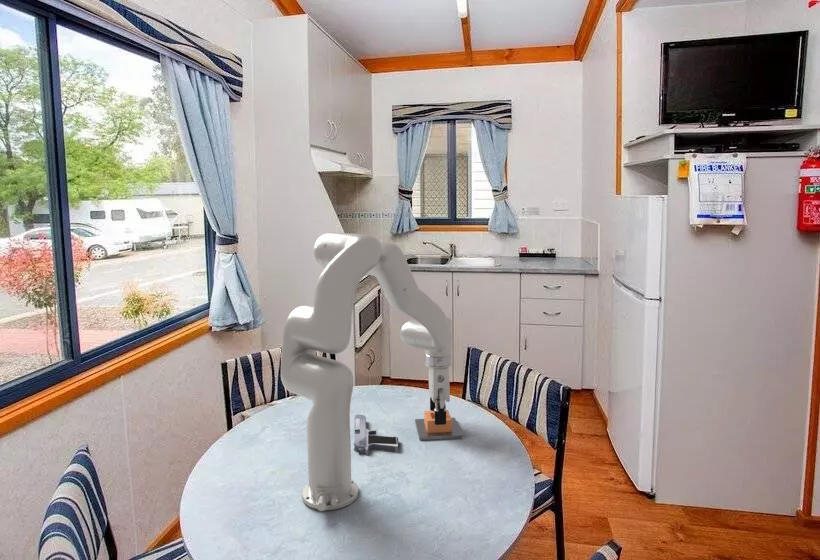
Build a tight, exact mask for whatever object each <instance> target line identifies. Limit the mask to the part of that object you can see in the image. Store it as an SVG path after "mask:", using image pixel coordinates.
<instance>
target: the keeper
mask: <svg viewBox="0 0 820 560" xmlns="http://www.w3.org/2000/svg"><path fill="white" fill-rule="evenodd" d="M435 411H436V408H435V409H434V419H435ZM451 419H452V432H436V433H427V430H426V426H425V423H424V418H416V419H414V423H415V429H416V432H417V435H418V436H419V437H418V436H417V437H418V439H419V440H420V441H436V440H437V441H439V440H438V439H442V440H456V439H455V438H462V439H463V433H462V431H461V429H460V426H459V424H458V422H457V420H456V417H451Z"/></svg>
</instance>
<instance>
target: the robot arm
mask: <svg viewBox="0 0 820 560" xmlns="http://www.w3.org/2000/svg"><path fill="white" fill-rule="evenodd" d="M313 254H314V258H315V260H316V262H317V263H318V264H319V266H321V267H322V268H324V269H323V270H322V272H321V274H320V275H319V276H318V279H317V281H316V285H315V291H314V298H313V304H312V305H300V306H298V307H296V308H295V309H293V310H292V311H291V312H290V313H289V315H288V317H287V318H286V320H285V323H284V327H283V333H282V346H281V358H280V360H281V361H280V379H281V382H282V386H283V387H284V388H285V389H286V390H287V391H288V392H289V393H292V394H294V395H296V396H300V397H302V398H306V399H308V400H310V401H312V407H311V409H310V410H309V413H308V415H307V418H306V442H307V467H308V468H307V470H308V471H307V472H308V483H307V484H306V485H305V486H304V487H303V489H302V491H301V498H302V502H303V503H304V504H305V505H306V506H308V507H310V508H311V509H314V510H318V511H320V512H323V511H333V510H334V511H335V510H339V509H342V508H345V507H347V506H349V505H350V504H352V503H353V502H355V500H356V499H357V498H358V497H359V485H358V484H357V483H356V482H355V481H354V480H353V479H352V453H351V452H352V450H351V449H352V447H351V446H352V444H351V403H352V396H353V393H354V392H353V391H354V386H355V385H354V384H355V379H354V374H353V372H352V370H351V368H350V367H348V366H347V365H346V364H345V363H343V362H341V361H339V360H336V359H332V358H328V357H324V356H319V355H317V352H320V353H325V354H332V355H334V354H335V355H336V354H341V353H342V352H344V351H345V350H346V349H347V348H348V346H349V344H350V341H351V335H352V333H351V332H352V322H353V321H352V320H353V310H354V299H355V294H356V290H357V288H358V285H359V284H360V282H361V281H362V279H363V278H364V277H365V276H372V277H375V278H376V281H377V282H378V284H379V286H380V289H381V290H382V292H383V293H384V296H385V298H386V300H387V302H388V304H389V305H390V306H391V307H393V309H395V310H397V311H398V312H401V313H402V314H404V315H406V316H408V317H410V318H412V319H411V320H407V322H405V323H404V324H403V325H402V326H401V328H400V332H399V337H400V340H401V342H402V343H403V344H404V345H405V346H408V347H409V348H414V349H419V350H424V366H425V367H426V368H428V391H429V394H430V397H429V411H434V409H435V408H436V411H435V425H445V424H446V410H447V405H446V402H447V403H449V402H450V401H451V394H450V393H451V391H450V390H451V389H450V388H451V387H450V371H449V368H450V367H451V366H452V347H453V346H452V345H453V344H452V342H453V332H452V331H453V330H452V329H453V325H452V320H451V318H450V317H448V316H447V314H446V313H445V312H444V311H443V309H442V308H441V307H440V305H439V304H437V303H436V302H435V301H434V300H433V299H432V298H430V296H429V295H428V294H426V293H425V292H424V291H422V289H420V288H419V286H418V284H417V282H416V279H415V278H414V274H413V272H412V271H411V267H410V266H409V264H408V261H407V259H406V257H405V255H404V252H403V250H402V249H401V248H400V247H399V245H397V244H395V243H392V242H388V241H387V242H385V241H380V240H379V239H378V238H376V237H375V236H373V235H370V234H364V233H347V232H346V233H344V232H328V233H324V234H322V235H321V236H319V237H318V238H317V240H316V242H315V244H314V247H313Z"/></svg>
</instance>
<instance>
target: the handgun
mask: <svg viewBox="0 0 820 560" xmlns="http://www.w3.org/2000/svg"><path fill="white" fill-rule="evenodd" d="M366 419H367V418H366V415H363V414H355V415H354V442H353V446H354V448H353V451H354V452H356V453H358V455H361V454H365V456H369V452H370V451H375V449H376V451H382V450H384V452H392V453H398V452H399V449H398V448H399V447H400V446H399V445H400V444H399V437H398V436H385V435H378V429H375V430H374V429H368V428H367V421H366ZM373 449H374V450H373Z"/></svg>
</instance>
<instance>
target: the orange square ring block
mask: <svg viewBox="0 0 820 560" xmlns="http://www.w3.org/2000/svg"><path fill="white" fill-rule="evenodd" d="M423 415H424V418H423V419H424V423H425V426H426V430H427V433H436V432H452V419H451V418H452V416H451V415H450V411H449V409H446V424H445V425H435V419H434V411H431V410H424V413H423Z"/></svg>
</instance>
